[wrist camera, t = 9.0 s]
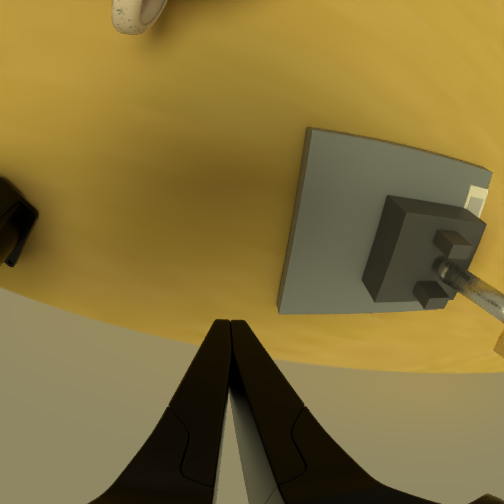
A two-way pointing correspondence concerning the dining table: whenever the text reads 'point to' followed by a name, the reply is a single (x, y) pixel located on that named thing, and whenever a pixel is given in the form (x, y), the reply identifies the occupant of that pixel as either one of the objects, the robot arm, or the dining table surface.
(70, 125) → the dining table surface
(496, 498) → the robot arm
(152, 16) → the teacup with lid
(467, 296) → the lever
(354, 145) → the switch board
